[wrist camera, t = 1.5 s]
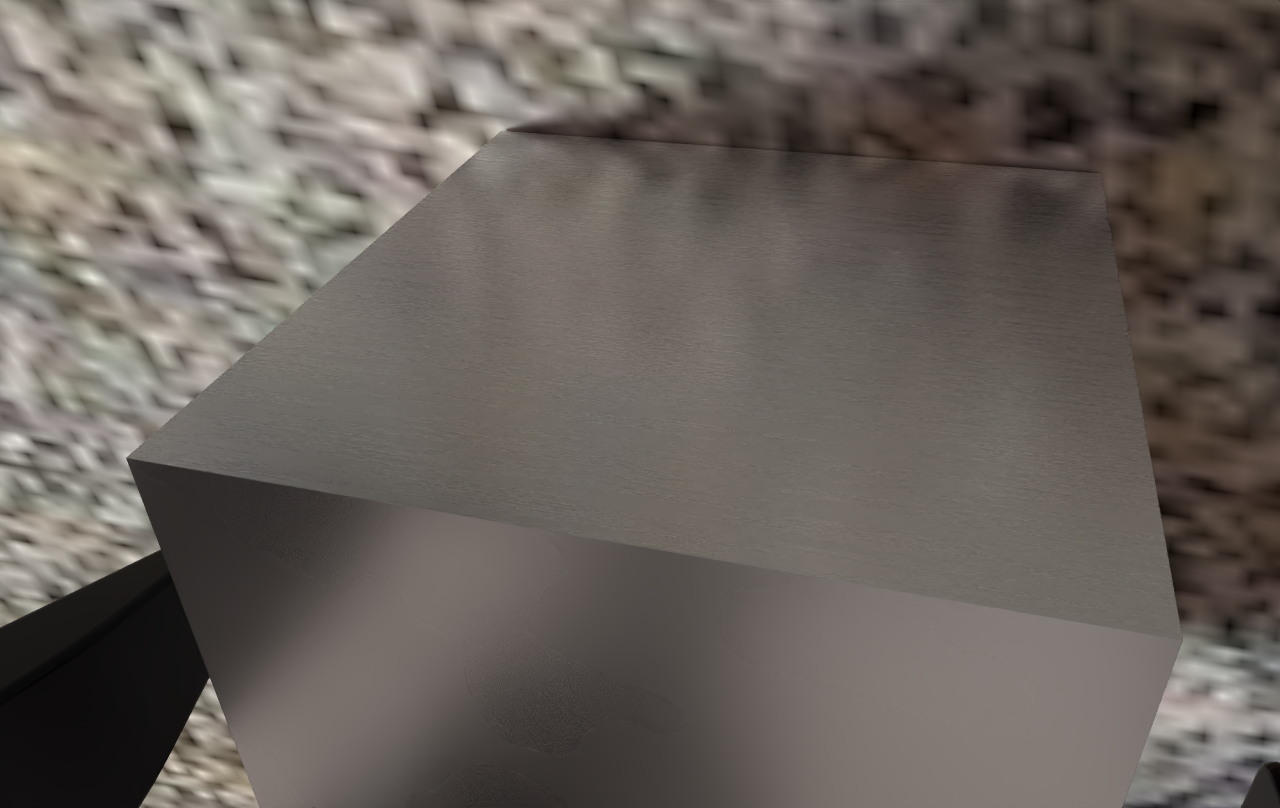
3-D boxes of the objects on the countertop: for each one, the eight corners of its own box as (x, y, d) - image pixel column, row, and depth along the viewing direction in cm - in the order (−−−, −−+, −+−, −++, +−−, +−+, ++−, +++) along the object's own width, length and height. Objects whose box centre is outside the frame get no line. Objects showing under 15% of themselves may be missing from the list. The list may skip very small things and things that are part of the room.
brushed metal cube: (998, 632, 13) (989, 1172, 8) (547, 551, 15) (322, 970, 10) (1100, 173, 10) (1183, 640, 5) (501, 130, 11) (125, 457, 6)
